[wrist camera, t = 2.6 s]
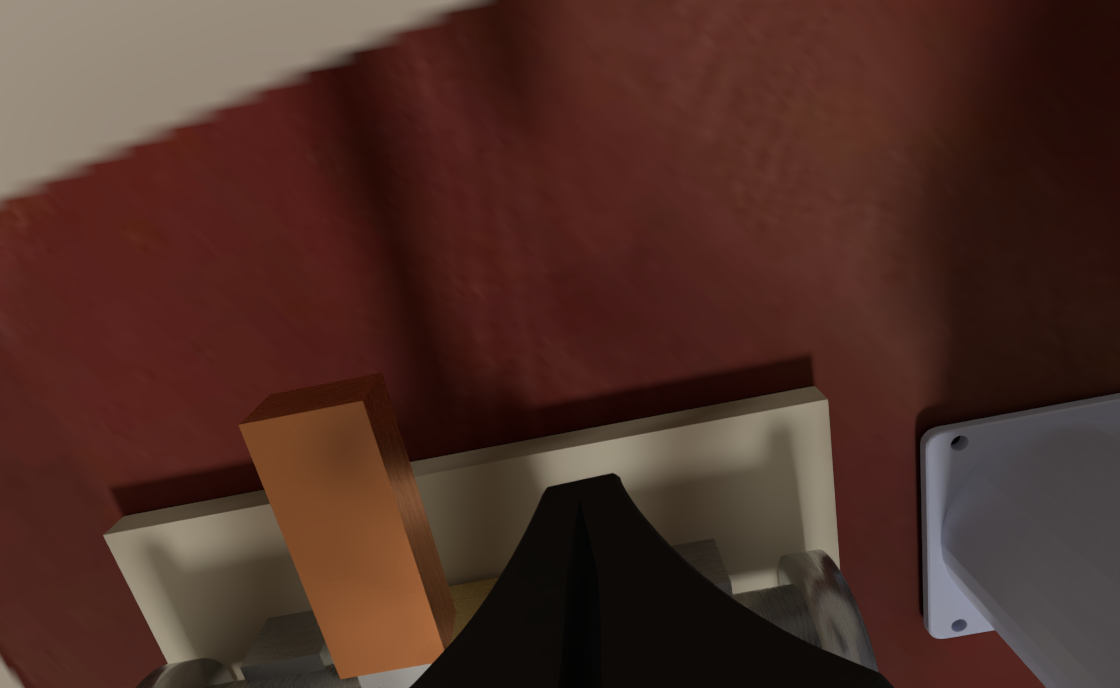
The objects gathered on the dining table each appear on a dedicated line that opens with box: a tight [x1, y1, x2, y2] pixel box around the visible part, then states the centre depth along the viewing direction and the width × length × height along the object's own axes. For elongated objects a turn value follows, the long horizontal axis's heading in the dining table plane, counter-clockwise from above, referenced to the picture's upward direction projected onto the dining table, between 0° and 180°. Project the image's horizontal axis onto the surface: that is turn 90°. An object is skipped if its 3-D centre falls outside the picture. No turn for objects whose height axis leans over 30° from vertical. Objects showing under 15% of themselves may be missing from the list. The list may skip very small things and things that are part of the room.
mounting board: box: [103, 386, 840, 681], centre depth 21 cm, size 22×12×1 cm, turn 101°
